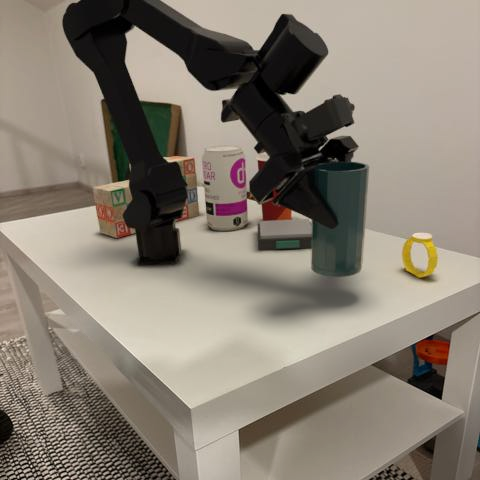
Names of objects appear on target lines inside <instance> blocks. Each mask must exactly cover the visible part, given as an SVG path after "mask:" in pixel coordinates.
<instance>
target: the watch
mask: <svg viewBox="0 0 480 480" xmlns="http://www.w3.org/2000/svg"><path fill="white" fill-rule="evenodd" d="M414 243H417V244H422V245H423V246H424V247H425V249H426V253H427V257H428V262H427V268H426V269H425V270H424V272H423V271H421V270H420V269H418V268H416V267H415V266H414V263H413V261H412V254H411V251H412V246H413V244H414ZM401 257H402V262H403V263H402V264H403V266H404V268H405V270H406V272H409V273H410V274H412V275H414V276H416V277H417V278H419V279H421V278H425V277H428V276H430V275H433V273H434V272H435V270H436V269H437V265H438V260H439V259H438V258H439V257H438V252H437V248H436V245H435V244H434V242H433V234H431V233H428V232H415V233H412V235H411V236H410V237H408V238H407V239H406V240H405V242H404V243H403V246H402V250H401Z"/></svg>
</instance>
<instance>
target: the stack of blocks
mask: <svg viewBox="0 0 480 480" xmlns="http://www.w3.org/2000/svg"><path fill="white" fill-rule="evenodd" d="M162 157H163V158H164V159H166V160H167V161H168V162H169V163H170V162H174V161H176V162H177V163H178V164H179V166H180V169H181V173H182V176H183V178H184V180H185V182H186V183H187V184H188V186H185V188H186V191H187V197H188V198H187V199H186V203H185V205H184V209H183V215H182V218H180V219H176V220H175V223H176V222H179V221H183V220H186V219H187V220H188V219H189V218H194V217H197V216H200V205H199V195H198V177H197V173H196V159H195V157H191V156H181V155H174V156H168V157H167V156H162ZM130 171H131V165H130V163H129V172H130ZM92 189H93V190H92V191H93V197H94V198H93V199H94V205H95V212H96V217H97V222H98V226H99V233H100V234H103V235H105V236H110V237H113V238H115V239H119V238H122V237H124V236H129V235H133V234H136V232H135V229H133V228H128V227H127V226H126V224H125V221H124V219H123V213H124V211H125V210H126V208H127V207H128V205H129V203H130V202H131V200H132V196H131V192H130V189H129V179H126V180H123V181H116V182H111V183H107V184H103V185H97V186H93V187H92Z"/></svg>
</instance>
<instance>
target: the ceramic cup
mask: <svg viewBox="0 0 480 480" xmlns="http://www.w3.org/2000/svg"><path fill="white" fill-rule="evenodd" d="M314 170H315V185H316V187H317V189H318V190H319V192H320V193H321V195H322V196H323V198H324V200H325V201H326V203H327V204H328V206H329V207H330V209H331V210H332V212H333V214H334V216H335V217H336V219H337V221H338V225H337V226H336V227H335V228H334V229H330V228H328V227H326V226H324V225H322V224H320V223H318V222H316V221H314V220H312V219H310V220H311V221H310V222H311V248H310V270H312V272H314V273H315V274H317V275H321V276H325V277H331V278H343V277H344V278H345V277H351V276H354V275H357V274H358V273H360V272H361V271H362V269H363V263H364V250H365V249H364V248H365V235H366V222H367V221H366V219H367V204H368V191H369V190H368V189H369V177H370V176H369V175H370V165H368V164H367V163H364V162H358V161H351V162H343V161H342V162H326V163H320V164H316V165H314Z"/></svg>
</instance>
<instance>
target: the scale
mask: <svg viewBox="0 0 480 480" xmlns="http://www.w3.org/2000/svg"><path fill="white" fill-rule="evenodd" d="M257 242H258V244H257V245H258V251H270V250H271V251H273V250H294V249H297V250H299V249H311V221H310V218H301V219H300V218H299V219H297V218H296V219H291V220H273V221H263V220H259V223H258V224H257Z"/></svg>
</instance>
